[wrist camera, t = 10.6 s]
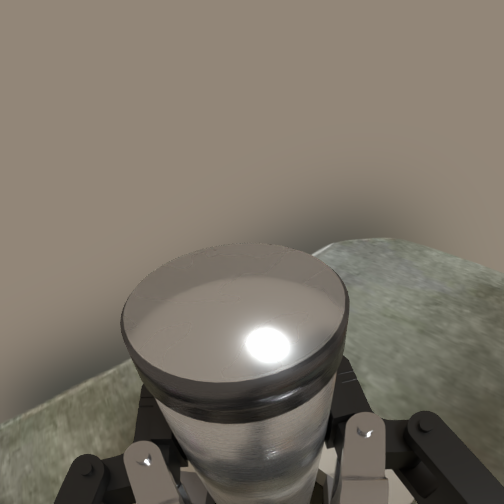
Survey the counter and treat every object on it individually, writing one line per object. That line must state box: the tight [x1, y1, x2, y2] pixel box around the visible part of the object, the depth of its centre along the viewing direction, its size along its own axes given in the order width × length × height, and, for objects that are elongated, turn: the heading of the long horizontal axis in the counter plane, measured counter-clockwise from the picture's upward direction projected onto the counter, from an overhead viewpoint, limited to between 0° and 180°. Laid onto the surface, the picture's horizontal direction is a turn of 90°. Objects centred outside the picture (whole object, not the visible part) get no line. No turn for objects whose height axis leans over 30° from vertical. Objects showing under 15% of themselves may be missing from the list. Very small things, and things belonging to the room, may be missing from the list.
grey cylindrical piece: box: [120, 243, 349, 504], centre depth 10 cm, size 5×5×14 cm
